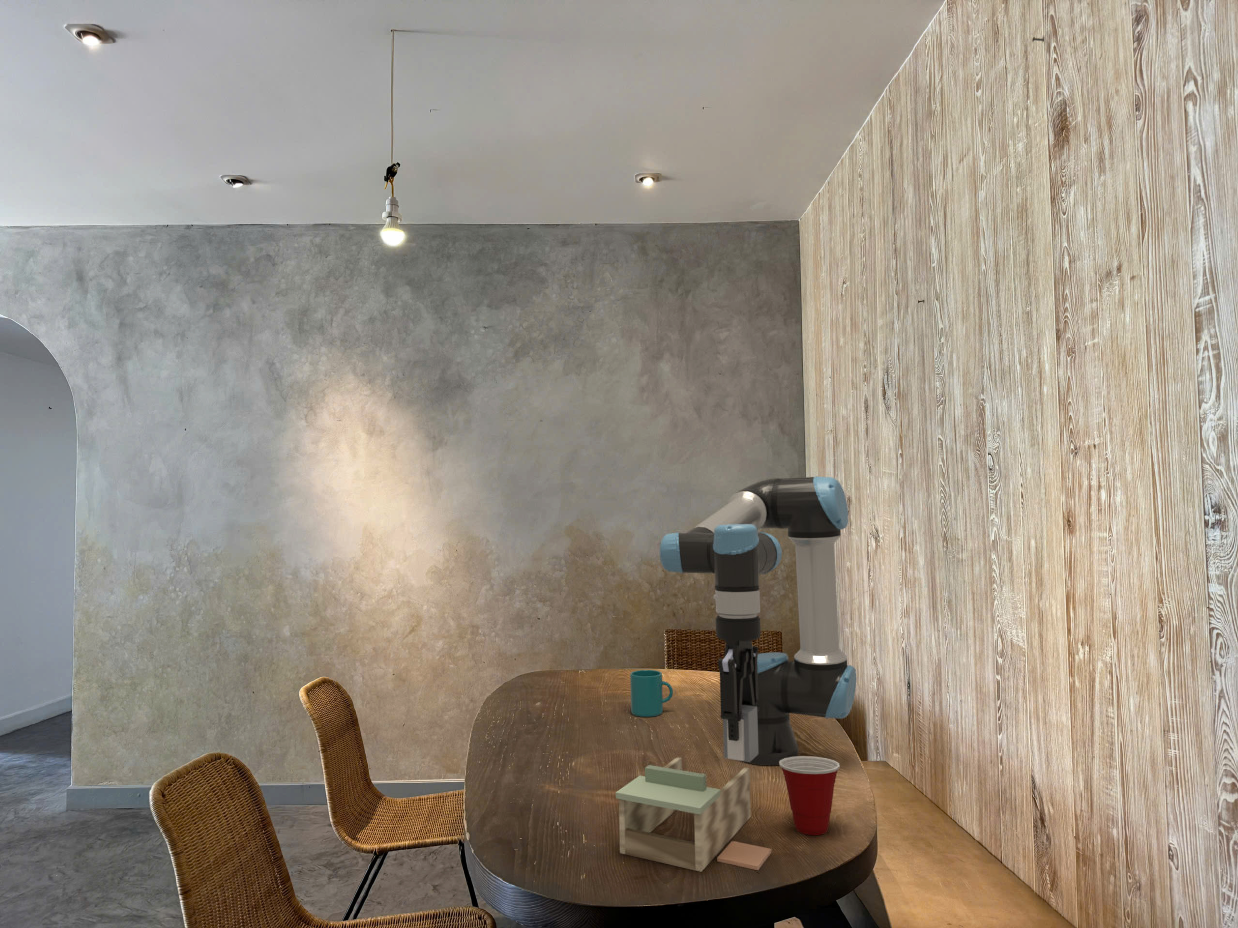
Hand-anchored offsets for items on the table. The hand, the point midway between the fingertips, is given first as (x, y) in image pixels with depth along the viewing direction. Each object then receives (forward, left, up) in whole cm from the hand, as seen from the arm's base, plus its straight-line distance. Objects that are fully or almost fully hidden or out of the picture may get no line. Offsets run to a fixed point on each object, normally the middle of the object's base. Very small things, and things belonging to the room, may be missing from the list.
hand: (741, 753), depth 130 cm
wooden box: (-4, -12, -17) cm, 21 cm away
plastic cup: (-16, +7, -17) cm, 25 cm away
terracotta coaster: (0, 0, -17) cm, 17 cm away
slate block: (0, 0, 0) cm, 0 cm away
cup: (-72, -53, -17) cm, 91 cm away
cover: (+4, -12, -8) cm, 15 cm away
